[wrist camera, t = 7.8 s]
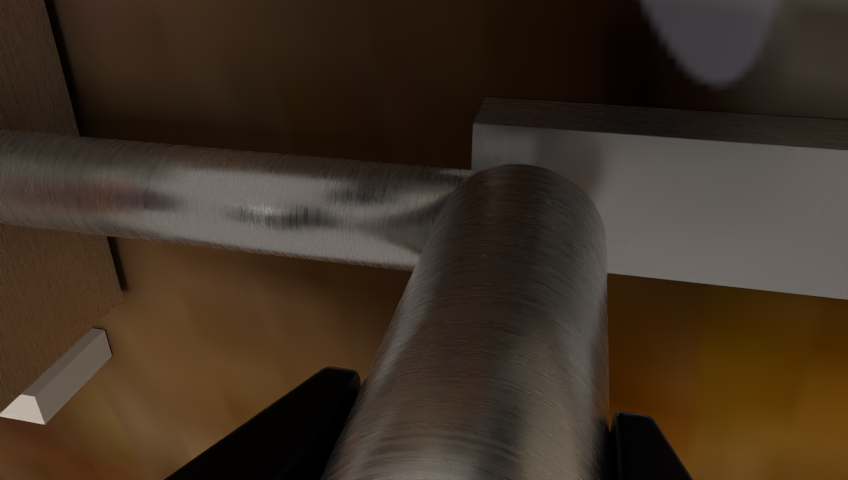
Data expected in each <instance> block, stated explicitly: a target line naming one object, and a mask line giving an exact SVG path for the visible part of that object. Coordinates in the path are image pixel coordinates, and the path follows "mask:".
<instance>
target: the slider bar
mask: <svg viewBox="0 0 848 480" xmlns="http://www.w3.org/2000/svg"><path fill="white" fill-rule="evenodd" d="M107 236H113V237H122V238H130V239H139V240H147V241H156V242H165V243H173V244H182V245H190V246H199V247H207V248H216V249H224V250H233V251H241V252H250V253H258V254H267V255H275V256H284V257H292V258H301V259H309V260H318V261H326V262H335V263H344V264H352V265H361V266H369V267H378V268H386V269H395V270H403V271H412V272H413V273H412V275H411V277H410V279H409V282H408V284H407V286H406V288H405V291H404V293H403V295H402V297H401V299H400V302H399V304H398V306H397V308H396V311H395V313H394V315H393V317H392V319H391V322H390V324H389V326H388V328H387V331H386V333H385V335H384V337H383V339H382V342H381V344H380V346H379V348H378V351H377V353H376V355H375V357H374V359H373V362H372V364H371V366H370V368H369V371H368V373H367V375H366V377H365V379H364V382H363V384H362V386H361V388H360V391H359V393H358V395H357V397H356V399H355V402H354V404H353V406H352V408H351V411H350V413H349V415H348V417H347V419H346V422H345V424H344V426H343V428H342V431H341V433H340V435H339V437H338V439H337V442H336V444H335V446H334V448H333V451H332V453H331V455H330V457H329V459H328V462H327V464H326V466H325V468H324V471H323V473H322V475H321V477H320V479H319V480H610V419H609V361H608V303H607V246H606V232H605V227H604V223H603V220H602V218H601V215H600V213H599V211H598V209H597V207H596V206H595V204H594V202H593V201H592V200H591V199H590V197H589V196H588V195H587V194H586V193H585V192H584V191H583V190H582V189H581V188H580V187H579V186H578V185H576V184H575V183H574V182H572V181H571V180H570V179H568V178H566V177H564V176H562V175H561V174H559V173H556V172H554V171H551V170H549V169H546V168H542V167H538V166H533V165H526V164H508V165H500V166H495V167H491V168H488V169H485V170H482V171H475V170H463V169H452V168H440V167H429V166H417V165H405V164H394V163H382V162H371V161H359V160H347V159H336V158H324V157H313V156H301V155H289V154H278V153H266V152H255V151H243V150H232V149H220V148H208V147H197V146H185V145H174V144H162V143H150V142H139V141H127V140H116V139H104V138H92V137H81V136H80V134H79V130H78V127H77V123H76V119H75V115H74V112H73V108H72V104H71V100H70V97H69V93H68V89H67V85H66V81H65V78H64V74H63V70H62V66H61V63H60V59H59V55H58V51H57V47H56V44H55V40H54V36H53V32H52V29H51V25H50V21H49V17H48V14H47V10H46V6H45V2H44V0H0V413H1V412H2V411H3V410H5V409H6V408H7V407H8V406H9V405H10V404H11V403H12V402H13V401H14V400H15V399H16V398H17V397H19V396H20V395H21V394H22V393H23V392H24V391H25V390H26V389H27V388H28V387H29V386H30V385H31V384H33V383H34V382H35V381H36V380H37V379H38V378H39V377H40V376H41V375H42V374H43V373H44V372H45V371H47V370H48V369H49V368H50V367H51V366H52V365H53V364H54V363H55V362H56V361H57V360H58V359H59V358H61V357H62V356H63V355H64V354H65V353H66V352H67V351H68V350H69V349H70V348H71V347H72V346H73V345H75V344H76V343H77V342H78V341H79V340H80V339H81V338H82V337H83V336H84V335H85V334H86V333H87V332H89V331H90V330H91V329H92V328H93V327H94V326H95V325H96V324H97V323H98V322H99V321H100V320H101V319H103V318H104V317H105V316H106V315H107V314H108V313H109V312H110V311H111V310H112V309H113V308H114V307H115V306H117V305H118V304H119V303H120V302H121V301H122V300H123V296H122V293H121V289H120V285H119V281H118V278H117V274H116V270H115V266H114V263H113V259H112V255H111V251H110V247H109V244H108V240H107Z"/></svg>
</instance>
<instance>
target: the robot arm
mask: <svg viewBox="0 0 848 480" xmlns="http://www.w3.org/2000/svg"><path fill="white" fill-rule="evenodd" d="M360 388H361V382H360V377H359V374H358V373H357V372H356V371H355V370H351V369H344V368H338V367H326V368H323V369H321V370H320V371H319V372H317V373H316V374H314V375H313V376H311V377H310V378H309V379H307V380H306V381H304V382H303V383H301V384H300V385H299V386H297V387H296V388H294V389H293V390H291V391H290V392H289V393H287V394H286V395H284V396H283V397H281V398H280V399H279V400H277V401H276V402H274V403H273V404H271V405H270V406H269V407H267V408H266V409H264V410H263V411H261V412H260V413H258V414H257V415H256V416H254V417H253V418H251V419H250V420H248V421H247V422H246V423H244V424H243V425H241V426H240V427H238V428H237V429H236V430H234V431H233V432H231V433H230V434H228V435H227V436H226V437H224V438H223V439H221V440H220V441H218V442H217V443H216V444H214V445H213V446H211V447H210V448H208V449H207V450H206V451H204V452H203V453H201V454H200V455H198V456H197V457H196V458H194V459H193V460H191V461H190V462H188V463H187V464H186V465H184V466H183V467H181V468H180V469H178V470H177V471H176V472H174V473H173V474H171V475H170V476H168V477H167V478H166V479H164V480H319V479H320V477H321V475H322V473H323V471H324V468H325V466H326V464H327V462H328V459H329V457H330V455H331V453H332V451H333V448H334V446H335V444H336V442H337V439H338V437H339V435H340V433H341V431H342V428H343V426H344V424H345V422H346V419H347V417H348V415H349V413H350V411H351V408H352V406H353V404H354V402H355V399H356V397H357V395H358V393H359V391H360ZM610 480H693V479H692V478H691V476H690V475H689V473H688V471H687V470H686V468H685V467H684V465H683V464H682V462H681V461H680V459H679V458H678V456H677V454H676V453H675V451H674V450H673V448H672V447H671V445H670V444H669V442H668V441H667V439H666V437H665V436H664V434H663V433H662V431H661V430H660V428H659V427H658V425H657V424H656V422H655V421H654V419H653V418H651V417H650V416H648V415H643V414H637V413H630V412H624V411H618V412H616V413H615V414H614V416H613V419H612V424H611V429H610Z"/></svg>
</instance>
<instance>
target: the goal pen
mask: <svg viewBox="0 0 848 480" xmlns="http://www.w3.org/2000/svg"><path fill="white" fill-rule="evenodd" d="M111 356H112V354H111V351H110V347H109V344H108V340H107V337H106V333H105V330H101V329H95V328H92V329H91V330H90V331H89V332H87V333H86V334H85V335H84V336H83V337H82V338H81V339H80V340H79V341H78V342H77V343H76V344H75V345H73V346H72V347H71V348H70V349H69V350H68V351H67V352H66V353H65V354H64V355H63V356H62V357H61V358H59V359H58V360H57V361H56V362H55V363H54V364H53V365H52V366H51V367H50V368H49V369H48V370H47V371H45V372H44V373H43V374H42V375H41V376H40V377H39V378H38V379H37V380H36V381H35V382H34V383H33V384H31V385H30V386H29V387H28V388H27V389H26V390H25V391H24V392H23V393H22V394H21V395H20V396H19V397H17V398H16V399H15V400H14V401H13V402H12V403H11V404H10V405H9V406H8V407H7V408H6V409H5V410H3V411H2V412H1V413H0V416H1V417H6V418H12V419H17V420H23V421H28V422H34V423H39V424H46V423H47V422H48V421H49V420H50V419H51V418H52V417H53V416H54V415H55V414H56V413H57V412H58V411H59V410H60V409H61V408H62V407H63V406H64V405H65V404H66V403H67V402H68V401H69V399H70V398H71V397H72V396H73V395H74V394H75V393H76V392H77V391H78V390H79V389H80V388H81V387H82V386H83V385H84V384H85V383H86V382H87V381H88V380H89V379H90V378H91V377H92V376H93V375H94V374H95V373H96V372H97V371H98V370H99V369H100V368H101V367H102V366H103V365H104V364H105V363H106V362H107V361H108V360H109V359H110V358H111Z"/></svg>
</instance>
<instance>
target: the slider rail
mask: <svg viewBox="0 0 848 480" xmlns="http://www.w3.org/2000/svg"><path fill="white" fill-rule="evenodd" d="M508 164H526V165H533V166H538V167H542V168H546V169H549V170H551V171H554V172H556V173H559V174H561V175H562V176H564V177H566V178H568V179H570V180H571V181H572V182H574V183H575V184H576V185H578V186H579V187H580V188H581V189H582V190H583V191H584V192H585V193H586V194H587V195H588V196H589V197H590V199H591V200H592V201H593V202H594V204H595V206H596V207H597V209H598V211H599V213H600V215H601V218H602V220H603V223H604V227H605V232H606V246H607V273H614V274H623V275H632V276H641V277H650V278H658V279H667V280H676V281H685V282H694V283H703V284H712V285H721V286H730V287H739V288H748V289H757V290H766V291H775V292H784V293H793V294H802V295H811V296H820V297H829V298H838V299H847V300H848V120H836V119H820V118H805V117H790V116H774V115H759V114H743V113H728V112H713V111H697V110H682V109H666V108H651V107H636V106H620V105H605V104H589V103H574V102H559V101H543V100H528V99H512V98H497V97H485V99H484V101H483V103H482V105H481V107H480V110H479V112H478V114H477V116H476V118H475V120H474V122H473V138H472V167H471V170H475V171H482V170H485V169H488V168H491V167H495V166H500V165H508Z"/></svg>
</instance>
